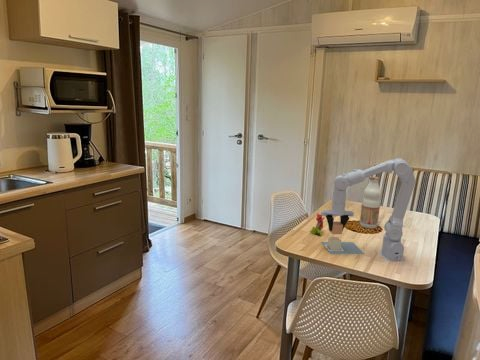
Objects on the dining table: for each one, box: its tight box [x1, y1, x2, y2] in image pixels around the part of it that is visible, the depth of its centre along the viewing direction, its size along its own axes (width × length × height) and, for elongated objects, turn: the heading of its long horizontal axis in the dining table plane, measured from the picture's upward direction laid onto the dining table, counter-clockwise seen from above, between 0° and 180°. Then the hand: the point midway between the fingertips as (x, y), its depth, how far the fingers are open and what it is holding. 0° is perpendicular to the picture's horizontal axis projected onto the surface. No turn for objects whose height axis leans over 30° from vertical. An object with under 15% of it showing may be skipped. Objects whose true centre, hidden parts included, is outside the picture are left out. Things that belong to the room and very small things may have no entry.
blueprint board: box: [320, 241, 365, 255], centre depth 168 cm, size 14×16×1 cm
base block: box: [327, 236, 342, 250], centre depth 167 cm, size 4×4×4 cm
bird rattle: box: [309, 213, 326, 237], centre depth 185 cm, size 6×11×9 cm
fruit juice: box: [359, 175, 382, 230], centre depth 198 cm, size 9×9×28 cm
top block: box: [328, 221, 344, 235], centre depth 165 cm, size 4×4×4 cm
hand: (335, 230), depth 165 cm, fingers closed on top block, 4 cm apart
